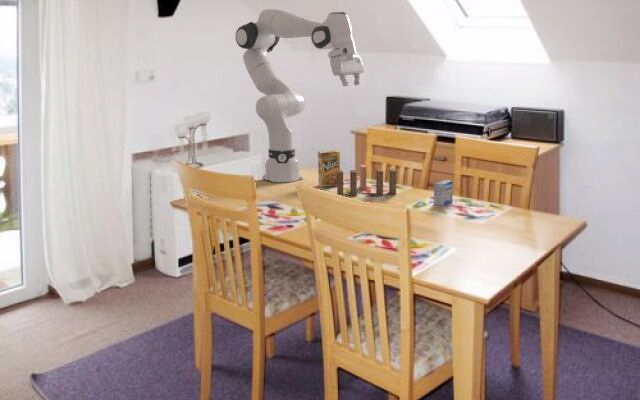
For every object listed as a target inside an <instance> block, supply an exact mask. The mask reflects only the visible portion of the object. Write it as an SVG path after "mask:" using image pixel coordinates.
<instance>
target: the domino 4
mask: <svg viewBox="0 0 640 400" xmlns="http://www.w3.org/2000/svg"><path fill="white" fill-rule="evenodd" d="M375 174H376V177H375V180H376V189H375V190H376V195H377V196H383V195H384V171H383V169H381V168H377V169H376V172H375Z"/></svg>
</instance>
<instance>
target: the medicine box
mask: <svg viewBox="0 0 640 400" xmlns="http://www.w3.org/2000/svg"><path fill="white" fill-rule="evenodd" d="M453 187H454V181H453V180H449V179H442V180H439V181H437V182H434V183H433V204H434V205H436V206H443V207H444V206H447V205H448V204H450V203H452V202H453V197H454V196H453V195H454V193H453V191H454V190H453V189H454V188H453Z"/></svg>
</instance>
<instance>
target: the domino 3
mask: <svg viewBox="0 0 640 400" xmlns="http://www.w3.org/2000/svg"><path fill="white" fill-rule="evenodd" d="M359 183H360V184H359V187H360V189H361V191H367V165H366V164H359Z"/></svg>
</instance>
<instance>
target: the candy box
mask: <svg viewBox="0 0 640 400" xmlns="http://www.w3.org/2000/svg"><path fill="white" fill-rule="evenodd" d="M317 159H318V161H317V167H318V168H317V169H318V174H317V175H318V186H319V187H320V188H327V187H337V170H341V152H340V150H338V149H337V150H336V149H335V150H323V151H322V150H321V151H320V150H319V151H318V153H317Z"/></svg>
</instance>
